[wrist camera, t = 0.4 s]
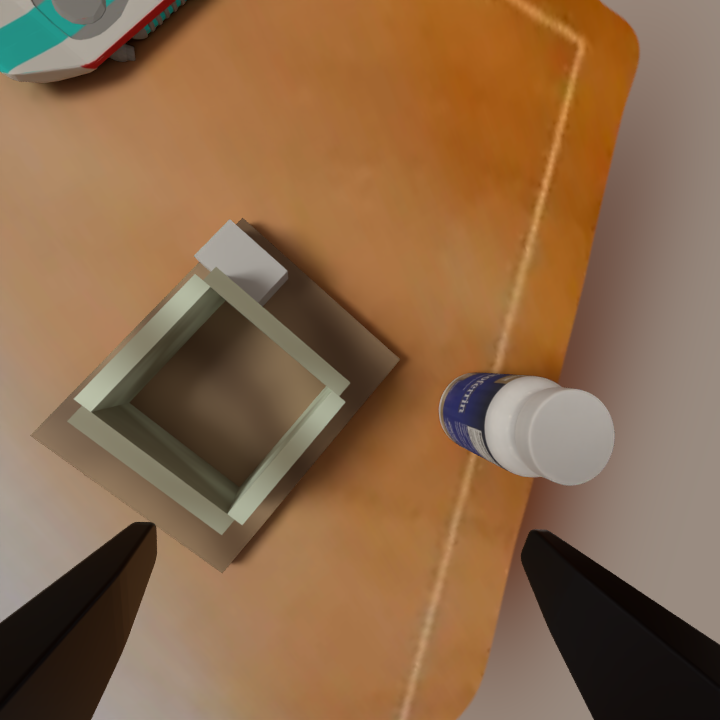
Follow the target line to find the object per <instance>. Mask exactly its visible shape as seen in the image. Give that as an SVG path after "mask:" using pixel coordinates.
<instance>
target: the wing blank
mask: <svg viewBox="0 0 720 720" xmlns="http://www.w3.org/2000/svg"><path fill="white" fill-rule="evenodd" d="M194 257H195V258H196V259H197V260H198V261H199V262H200V263H201V264H202V265H203V266H204V267H205V268H207V269H208V270H209V271H210V272H211V271H212V270H213V269H214V268H215V267H217V268H218V269H219V270H221V271H222V272H223V273H224V274H225V275H226V276H228V277H229V278H230V279H231V280H232V281H233V282H234V283H236V284H237V285H238V286H239V287H240V288H241V289H243V290H244V291H245V292H246V293H247V294H248V295H250V296H251V297H252V298H253V299H254V300H255V301H256V302H258V303H259V304H260V305H261V306H262V307H263V306H264V305H265V304H266V302H267V301H268V300H269V299H270V298H271V297H272V296H273V295H274V294H275V293H276V292H277V290H278V289H279V288H280V287H281V286H282V285H283V284H284V283H285V282H286V281H287V280H288V271H287V270H286V269H285V268H284V267H283V266H282V265H280V264H279V263H278V262H277V261H276V260H275V259H274V258H273V257H271V256H270V255H269V254H268V253H267V252H266V251H265V250H264V249H263V248H261V247H260V246H259V245H258V244H257V243H256V242H255V241H254V240H252V239H251V238H250V237H249V236H248V235H247V234H246V233H245V232H243V231H242V230H241V229H240V228H239V227H238V226H237V225H236V224H235V223H233V222H232V221H231V220H229V221H228V222H227V223H226V224H225V225H224V226H223V227H222V228H221V229H220V230H219V231H218V232H217V233H216V234H215V235H214V236H213V237H212V238H211V239H210V240H209V241H208V242H207V243H206V244H205V245H204V246H203V247H202V248H201V249H200V250H199V251H198V252H197V253H196V254H195V255H194Z"/></svg>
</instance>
